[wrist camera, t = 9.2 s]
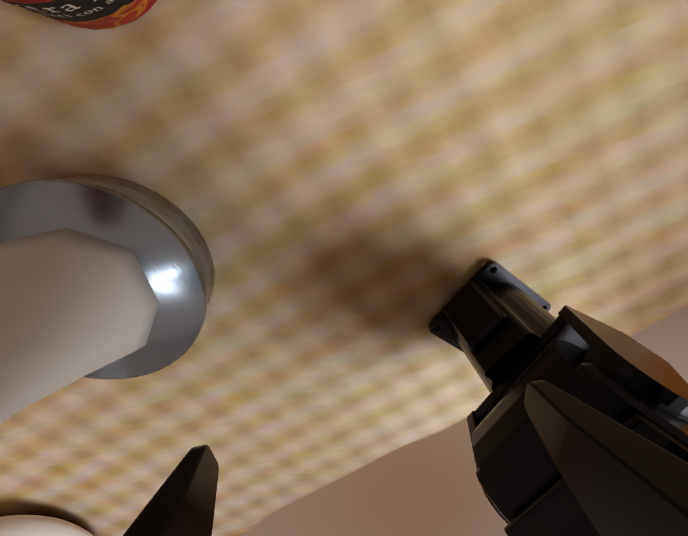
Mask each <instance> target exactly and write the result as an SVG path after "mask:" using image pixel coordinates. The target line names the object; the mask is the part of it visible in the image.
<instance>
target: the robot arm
mask: <svg viewBox="0 0 688 536" xmlns="http://www.w3.org/2000/svg"><path fill="white" fill-rule="evenodd" d="M492 267H494V269H493V270H492V271H490V269H491V268H492ZM542 306H543V307H542ZM549 310H550V304H549V303H548V302H547V301H546V300H544V299H543V298H542V297H541V296H539V295H538V294H537V293H535V292H534V291H533V290H531V289H530V288H529V287H528V286H526V285H525V284H524V283H522V282H521V281H520V280H519V279H517V278H516V277H515V276H513V275H512V274H511V273H510V272H508V271H507V270H506V269H504V268H503V267H502V266H500V265H499V264H498V263H497V262H495V261H489V262H487V263H486V264H485V265H484V266H483V267H482V268H481V269H480V270H479V271H478V272H477V273H476V274H475V275H474V277H473V278H472V279H471V280H470V281H469V282H468V283H467V284H466V285H465V286H464V287H463V288H462V289H461V290H460V291H459V292H458V293H457V294H456V295H455V296H454V298H453V299H452V300H451V301H450V302H449V303H448V304H447V305H446V306H445V307H444V308H443V309H442V310H441V311H440V312H439V313H438V314H437V315H436V316H435V317H434V319H433V320H432V321H431V322H430V323H429V326H428V327H429V329H430V331H431V332H432V333H433V334H434V335H436V336H438V337H439V338H441V339H443V340H444V341H446V342H448V343H449V344H451V345H453V346H454V347H456V348H458V349H459V350H461V351H463V352H464V353H465V354H466V356H467V358H468V359H469V361H470V362H471V364H472V365H473V367H474V368H475V370H476V372H477V373H478V375H479V376H480V378H481V379H482V381H483V382H484V384H485V385H486V387H487V389H488V390H489V392H490V395H489V396H488V397H487V398H486V399H485V400H484V401H483V402H482V404H481V405H480V406H479V407H478V408H477V409H476V410H475V411H472V412H471V413H470V414H469V416H468V417H467V421H468V426H469V431H470V437H471V442H472V448H473V452H474V457H475V462H476V467H477V471H476V474H477V478H478V481H479V483H480V484H481V486H482V488H483V491H484V493H485V495H486V497H487V498H488V500H489V502H490V503H491V505H492V506H493V507H494V509H495V510H496V511H497V513H498V514H499V515H500V516H501V517H502V518H503V519H504V520H505V521H506V523H507V524H508V525H507V526H506V527H505V532H506V534H507V535H508V536H688V383H686V381H685V380H684V379H683V378H682V377H681V376H680V375H679V374H678V372H677V371H676V370H675V369H674V368H673V367H672V366H671V365H670V364H669V363H668V362H667V361H665V360H664V359H662V358H661V357H659V356H658V355H656V354H655V353H653V352H652V351H650V350H649V349H647V348H646V347H644V346H643V345H641V344H640V343H638V342H637V341H635V340H634V339H632V338H631V337H629V336H628V335H626V334H624V333H623V332H621V331H618V330H616V329H614V328H612V327H610V326H608V325H606V324H604V323H602V322H600V321H597V320H595V319H593V318H591V317H589V316H587V315H585V314H583V313H581V312H579V311H576V310H574V309H572V308H570V307H568V306H566V305H565V306H564V307H563V308H562V310H561V311H560V312H559V313H558V314H559V316H558V317H557V318H555V317H554V316H552V315H551V314H550V313H549V312H548V311H549ZM435 326H438V327H436V328H434V327H435ZM218 471H219V468H218V463H217V460H216V459H215V457H214V455H213V453H212V451H211V449H210V447H209V446H207V445H202V446H197V447H193V448H192V449H191V450H190V451H189V452H188V453H187V454H186V456H185V457H184V458H183V459H182V461H181V462H180V463H179V464H178V466H177V467H176V468H175V470H174V471H173V472H172V473H171V475H170V476H169V477H168V478H167V480H166V481H165V482H164V484H163V485H162V486H161V487H160V489H159V490H158V491H157V492H156V494H155V495H154V496H153V498H152V499H151V500H150V501H149V503H148V504H147V505H146V507H145V508H144V509H143V510H142V512H141V513H140V514H139V515H138V517H137V518H136V519H135V521H134V522H133V523H132V524H131V526H130V527H129V528H128V529H127V531H126V532H125V533H124V535H123V536H211V535H212V528H213V519H214V509H215V500H216V491H217V481H218Z"/></svg>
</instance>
